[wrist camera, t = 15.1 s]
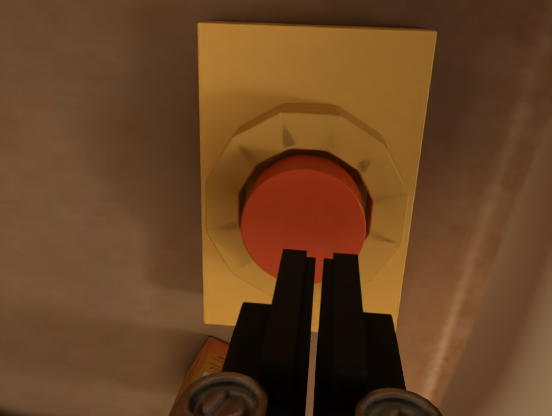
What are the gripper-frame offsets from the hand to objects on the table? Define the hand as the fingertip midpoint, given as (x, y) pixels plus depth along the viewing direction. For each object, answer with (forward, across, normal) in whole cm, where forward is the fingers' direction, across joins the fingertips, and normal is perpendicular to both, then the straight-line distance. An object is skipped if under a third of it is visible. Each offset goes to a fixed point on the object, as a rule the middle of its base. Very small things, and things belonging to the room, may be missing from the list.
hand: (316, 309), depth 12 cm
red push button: (+7, +1, 0) cm, 7 cm away
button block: (+10, +1, 0) cm, 10 cm away
